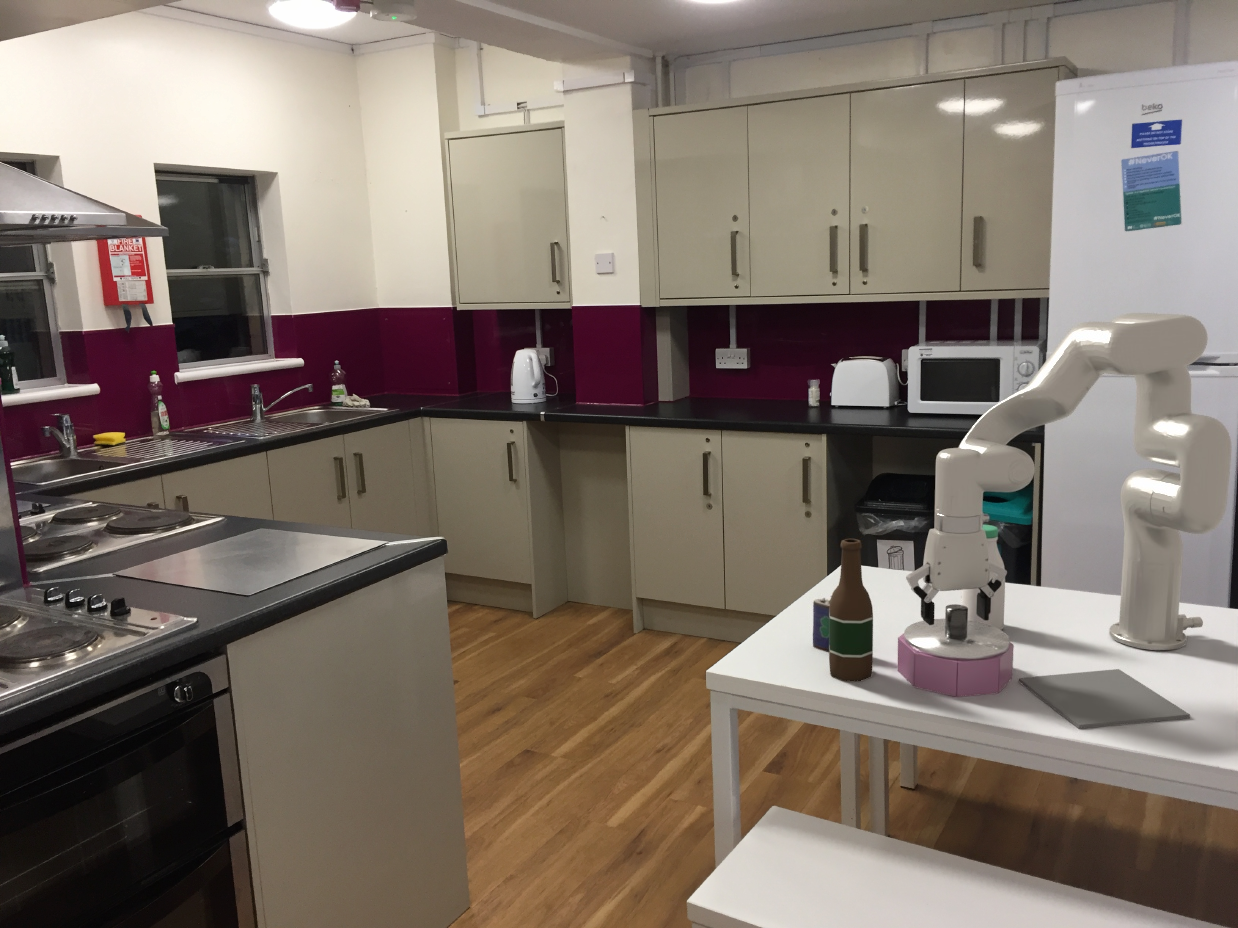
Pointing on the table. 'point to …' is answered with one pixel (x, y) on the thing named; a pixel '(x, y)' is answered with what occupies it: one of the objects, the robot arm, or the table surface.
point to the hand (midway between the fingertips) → (955, 620)
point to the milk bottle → (999, 596)
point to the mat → (1102, 698)
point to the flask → (821, 624)
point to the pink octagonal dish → (954, 672)
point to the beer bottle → (851, 620)
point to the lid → (956, 637)
